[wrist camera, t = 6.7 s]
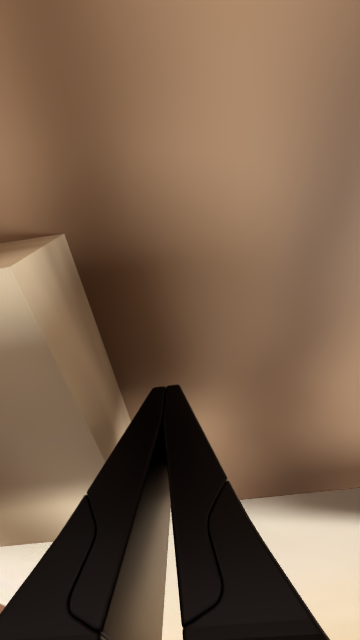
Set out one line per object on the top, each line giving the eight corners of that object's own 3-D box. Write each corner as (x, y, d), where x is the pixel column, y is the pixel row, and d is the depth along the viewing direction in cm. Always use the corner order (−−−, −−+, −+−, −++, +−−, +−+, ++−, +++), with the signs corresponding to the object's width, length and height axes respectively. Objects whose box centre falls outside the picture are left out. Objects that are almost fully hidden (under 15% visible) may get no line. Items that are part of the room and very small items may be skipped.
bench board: (616, -89, 5) (769, -177, 4) (383, 454, 14) (404, 483, 13) (-453, 121, 6) (-616, 108, 5) (-35, 499, 15) (-54, 529, 14)
